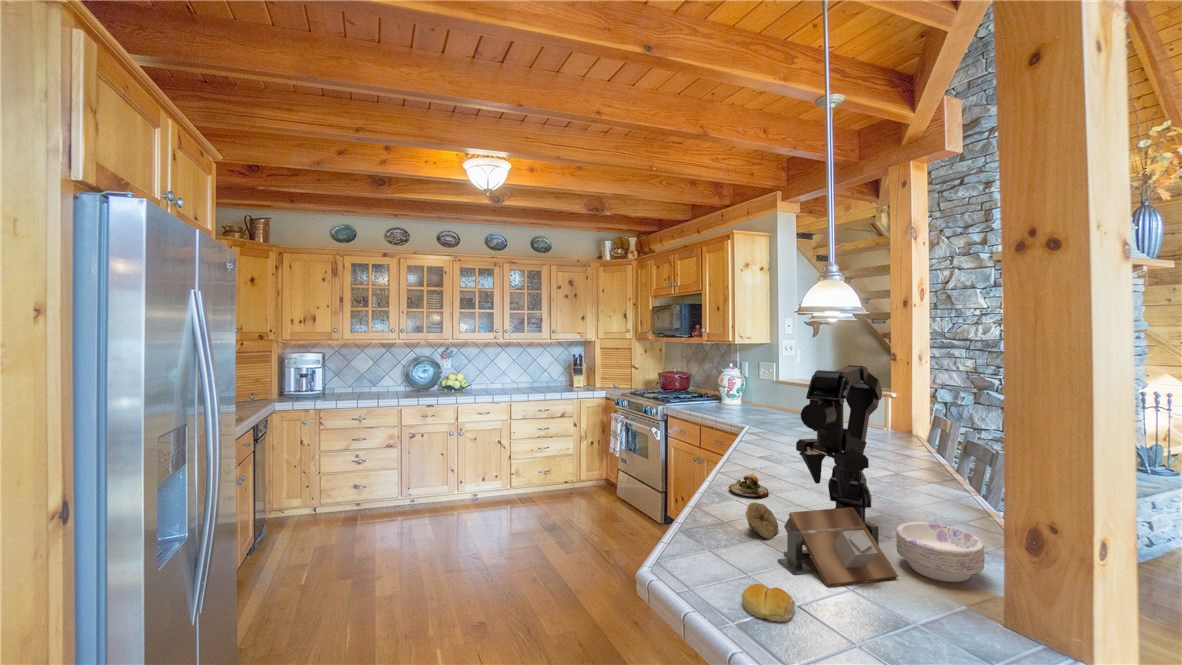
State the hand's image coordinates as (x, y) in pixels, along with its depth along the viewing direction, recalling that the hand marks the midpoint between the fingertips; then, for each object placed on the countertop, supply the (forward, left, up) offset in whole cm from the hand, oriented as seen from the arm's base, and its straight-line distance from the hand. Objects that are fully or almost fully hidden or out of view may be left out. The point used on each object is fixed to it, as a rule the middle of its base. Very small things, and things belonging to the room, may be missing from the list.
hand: (829, 489), depth 120 cm
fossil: (+12, -9, -13) cm, 20 cm away
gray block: (+6, +14, -9) cm, 18 cm away
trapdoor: (+6, +8, -12) cm, 16 cm away
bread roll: (+30, +22, -14) cm, 39 cm away
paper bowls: (-13, +17, -13) cm, 25 cm away
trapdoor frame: (+6, +8, -13) cm, 16 cm away
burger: (0, -38, -14) cm, 40 cm away
